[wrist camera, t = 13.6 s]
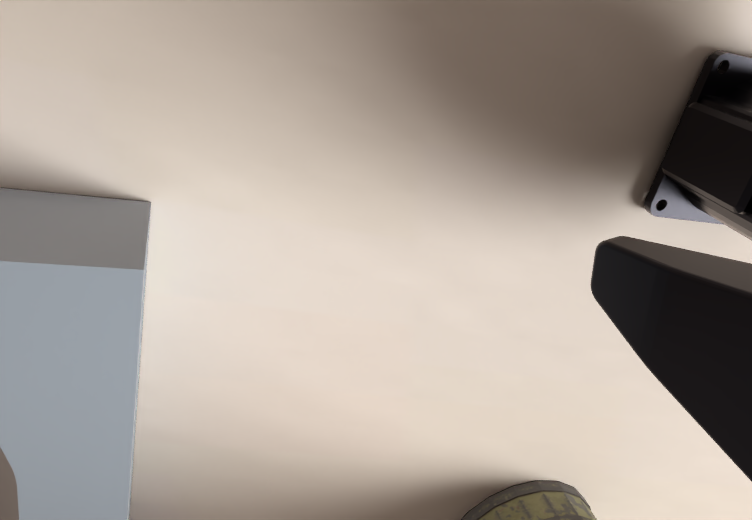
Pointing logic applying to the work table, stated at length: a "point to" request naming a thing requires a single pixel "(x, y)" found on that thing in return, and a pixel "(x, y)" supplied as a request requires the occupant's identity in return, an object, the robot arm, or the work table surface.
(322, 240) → the work table surface
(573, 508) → the thermos
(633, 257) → the robot arm
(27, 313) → the hole block
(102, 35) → the work table surface
